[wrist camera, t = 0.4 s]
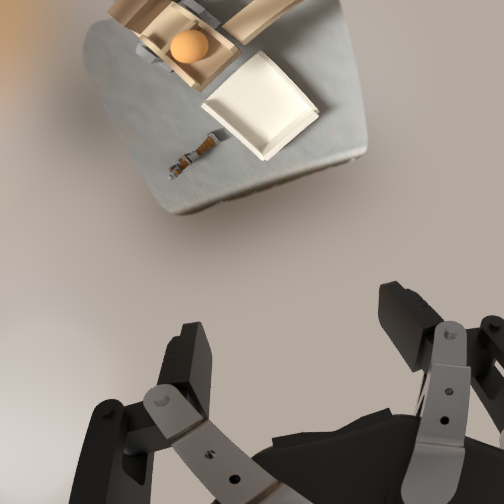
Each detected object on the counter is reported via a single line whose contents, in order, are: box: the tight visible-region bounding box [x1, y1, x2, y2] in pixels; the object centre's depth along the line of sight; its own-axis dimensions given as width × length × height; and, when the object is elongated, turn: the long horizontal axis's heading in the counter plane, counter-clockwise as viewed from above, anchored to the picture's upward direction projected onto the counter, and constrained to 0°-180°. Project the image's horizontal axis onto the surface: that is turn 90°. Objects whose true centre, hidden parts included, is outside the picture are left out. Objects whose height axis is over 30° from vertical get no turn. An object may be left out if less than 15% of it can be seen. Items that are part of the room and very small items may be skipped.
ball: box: [170, 30, 209, 63], centre depth 20 cm, size 4×4×4 cm
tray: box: [201, 50, 320, 161], centre depth 32 cm, size 11×10×4 cm
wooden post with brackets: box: [168, 133, 221, 180], centre depth 36 cm, size 2×8×4 cm, turn 123°
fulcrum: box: [135, 0, 221, 73], centre depth 24 cm, size 6×9×7 cm, turn 134°
